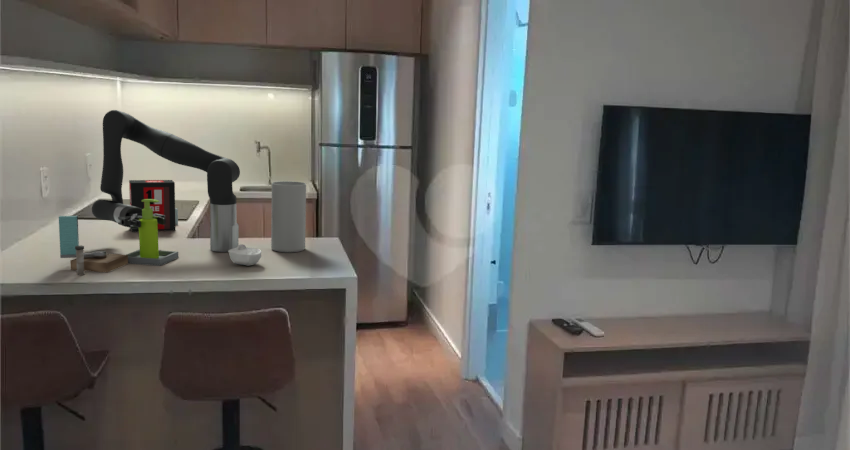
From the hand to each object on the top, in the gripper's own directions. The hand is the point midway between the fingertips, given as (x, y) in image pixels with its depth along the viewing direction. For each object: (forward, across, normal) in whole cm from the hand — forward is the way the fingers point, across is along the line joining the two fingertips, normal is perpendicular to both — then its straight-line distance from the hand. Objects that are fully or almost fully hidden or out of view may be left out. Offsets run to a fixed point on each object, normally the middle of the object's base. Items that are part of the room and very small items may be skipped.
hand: (152, 222), depth 224 cm
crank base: (-1, -19, +13) cm, 23 cm away
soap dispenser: (-2, 0, +12) cm, 13 cm away
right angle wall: (-65, +39, +14) cm, 77 cm away
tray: (-2, 0, +13) cm, 13 cm away
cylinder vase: (+11, +47, +13) cm, 50 cm away
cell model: (+23, +21, +13) cm, 33 cm away
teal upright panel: (-5, -20, +10) cm, 23 cm away
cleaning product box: (-52, +27, +13) cm, 60 cm away
